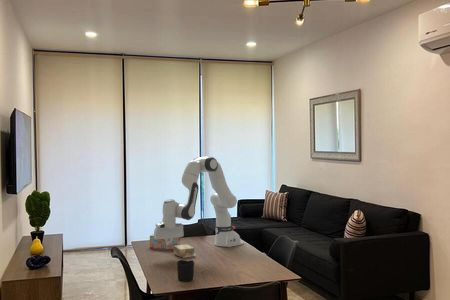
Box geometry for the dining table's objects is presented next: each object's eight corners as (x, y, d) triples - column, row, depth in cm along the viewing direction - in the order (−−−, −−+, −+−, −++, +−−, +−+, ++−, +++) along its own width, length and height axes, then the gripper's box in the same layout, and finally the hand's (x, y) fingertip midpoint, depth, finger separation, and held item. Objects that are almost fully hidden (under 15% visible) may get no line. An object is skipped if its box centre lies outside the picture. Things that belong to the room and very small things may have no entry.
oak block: (173, 253, 298) (187, 251, 303) (180, 257, 288) (194, 255, 292) (173, 245, 298) (187, 244, 303) (180, 249, 288) (194, 247, 292)
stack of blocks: (149, 248, 316) (149, 231, 315) (152, 246, 322) (152, 229, 322) (177, 249, 311) (177, 232, 311) (180, 247, 317) (180, 230, 317)
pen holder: (187, 276, 248) (187, 258, 248) (197, 279, 241) (197, 262, 241) (173, 279, 242) (173, 261, 242) (183, 283, 235) (183, 265, 235)
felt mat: (188, 251, 304) (188, 251, 304) (196, 255, 293) (196, 254, 293) (175, 253, 299) (175, 252, 299) (182, 257, 288) (182, 256, 288)
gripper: (181, 222, 297) (181, 242, 297) (153, 224, 288) (152, 245, 288) (185, 223, 292) (185, 244, 292) (156, 225, 282) (156, 247, 282)
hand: (168, 244), depth 290 cm, fingers closed
